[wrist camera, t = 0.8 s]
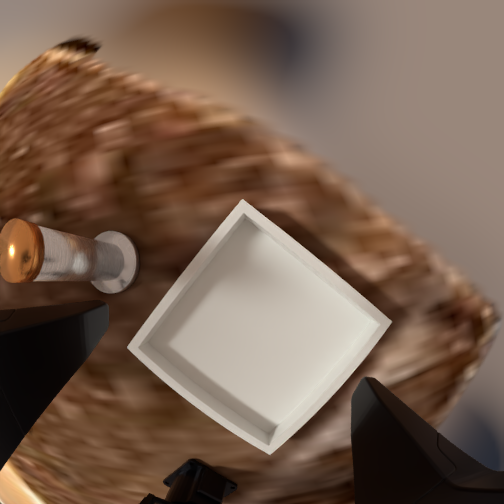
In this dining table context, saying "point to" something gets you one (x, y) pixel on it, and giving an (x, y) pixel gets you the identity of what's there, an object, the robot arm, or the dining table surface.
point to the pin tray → (258, 331)
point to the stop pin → (67, 257)
